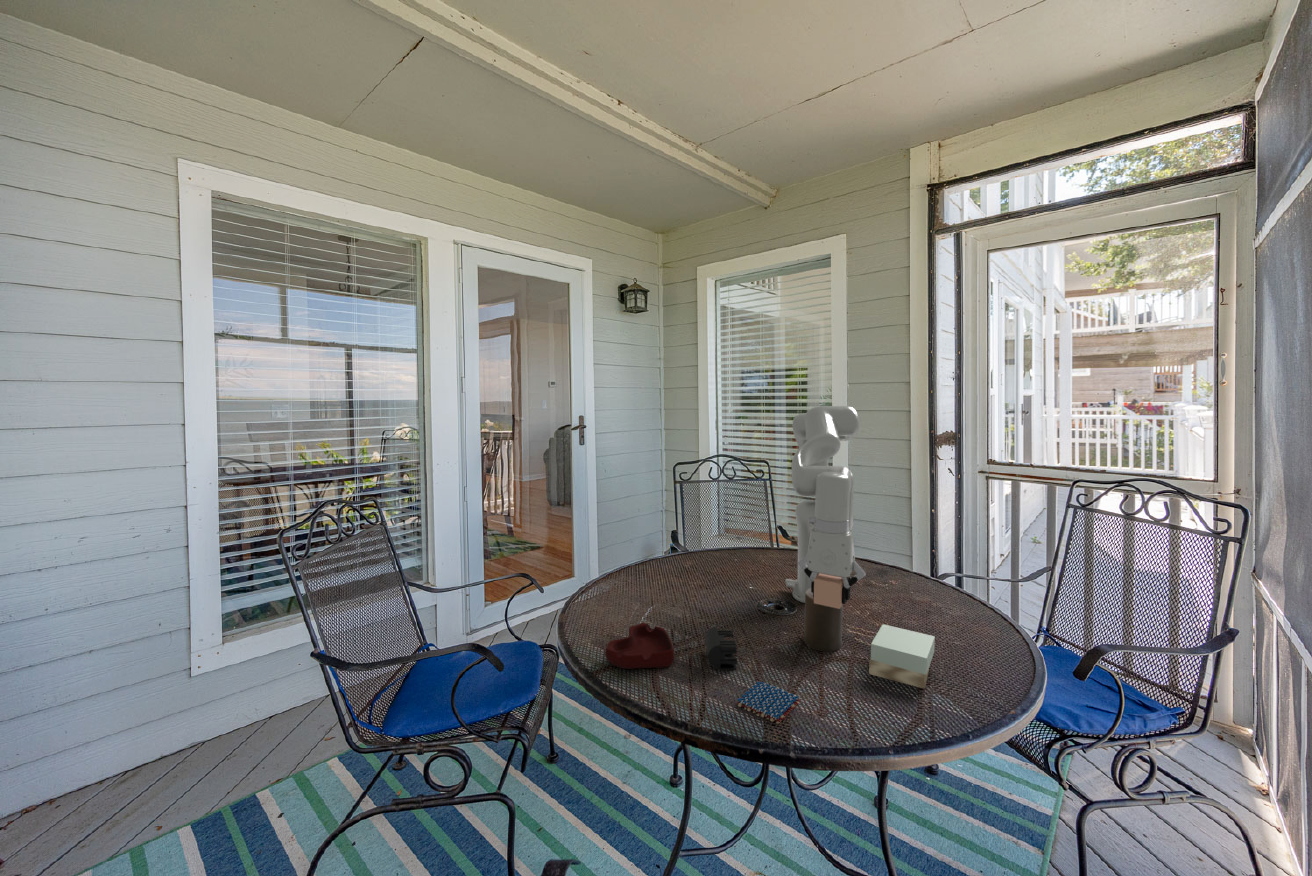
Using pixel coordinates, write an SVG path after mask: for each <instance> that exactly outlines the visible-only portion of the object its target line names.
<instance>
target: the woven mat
mask: <svg viewBox="0 0 1312 876" xmlns="http://www.w3.org/2000/svg"><path fill="white" fill-rule="evenodd" d="M748 690H749V691H745V692H744V694H741V697H740V698H737V703H736V704H737V707H739V708H743V707H744V710H747V711H748V712H751V711H752V713H753V714H756V716H757V717H759V716H760V717H761V718H763V719H764V718H765V719H766V720H770V722H772V723H774V722H775V721H776V722H775V724H780V723H781V722H782V721H783V720H785V719H786V717H787V716H789V714H790V712H791V711H792V710H794V709H795V708H796V706H797V705H799V703H800V702H801V700H800V699H799V696H798V695H797V694H793V693H791V692H788V691H787V690H782V689H781V688H778V687H776V686H775V685H774V686H773V685H770V684H769V683H768V684H767V683H766V682H763V681H758V682H756V683H755V685H752V688H749V689H748Z"/></svg>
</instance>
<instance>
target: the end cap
mask: <svg viewBox="0 0 1312 876" xmlns="http://www.w3.org/2000/svg"><path fill="white" fill-rule="evenodd" d="M734 636H735V634H734V630H732V629H731V630H730V629H729V630H727V629H725V630H718V627H717V626H714V627H710V628H709V629H708V630H707V631H706V633H705V637H704V641H705V646H706V654H707V659H708V661H707V662H709V664H710V665H711V666H712V668H715V669H716V670H718V671H736V670H738V669H737V665H738V662H737V661H738V658H737V657H735V654H736V655H737V653H738V650H737V649H738V647H737V643H736V640H727V639H725V638H728V637H729V638H730V637H734Z"/></svg>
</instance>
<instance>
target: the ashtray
mask: <svg viewBox="0 0 1312 876" xmlns="http://www.w3.org/2000/svg"><path fill="white" fill-rule="evenodd" d="M604 650H605V651H604V654H605V658H606V659H607V661H608V663H610V664H612V665H613V666H614V667H618V668H620V669H625V670H627V669H628V670H631V669H632V670H634V669H651V668H653V669H654V668H656V669H657V668H658V669H660V668H667V667H670V666H672V665H673V664H674V661H675V651H674V645H673V643H672V641H671V638H670V636H669V634H668V633H667V631H666V629H665V628H663V627H661V626H657V625H656V626H654V627H653V628H651V627H650V625H649V624H648V623H646V622H640V623H637V624H635V625H631V626H630V627H629V629H628V636H627V637H624V638H618V639H613V640H610V641H608V643H607V645H606V647H605V649H604Z"/></svg>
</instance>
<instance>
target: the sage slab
mask: <svg viewBox="0 0 1312 876" xmlns="http://www.w3.org/2000/svg"><path fill="white" fill-rule="evenodd" d="M935 639H936V637H935V635H931V634H927V633H922V632H918V631H913V630H909V629H905V628H901V627H900V628H899V627H896V626H892V625H889V624H884V623H883V624H882V625H881V627H880V628H879V630H878V632H877V633H876V634H875V637H874V638H873V640H872V642H871V643H870V658H871V660H874V661H877V662H881V663H885V664H888V665H892V666H896V667H899V668H903V669H906V670H910V671H914V672H917V673H921V674H925V675H926V674H927V671H928V668H929V665H930V663H932V659H933V656H934V654H935V645H936V644H935ZM930 666H931V665H930Z"/></svg>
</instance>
